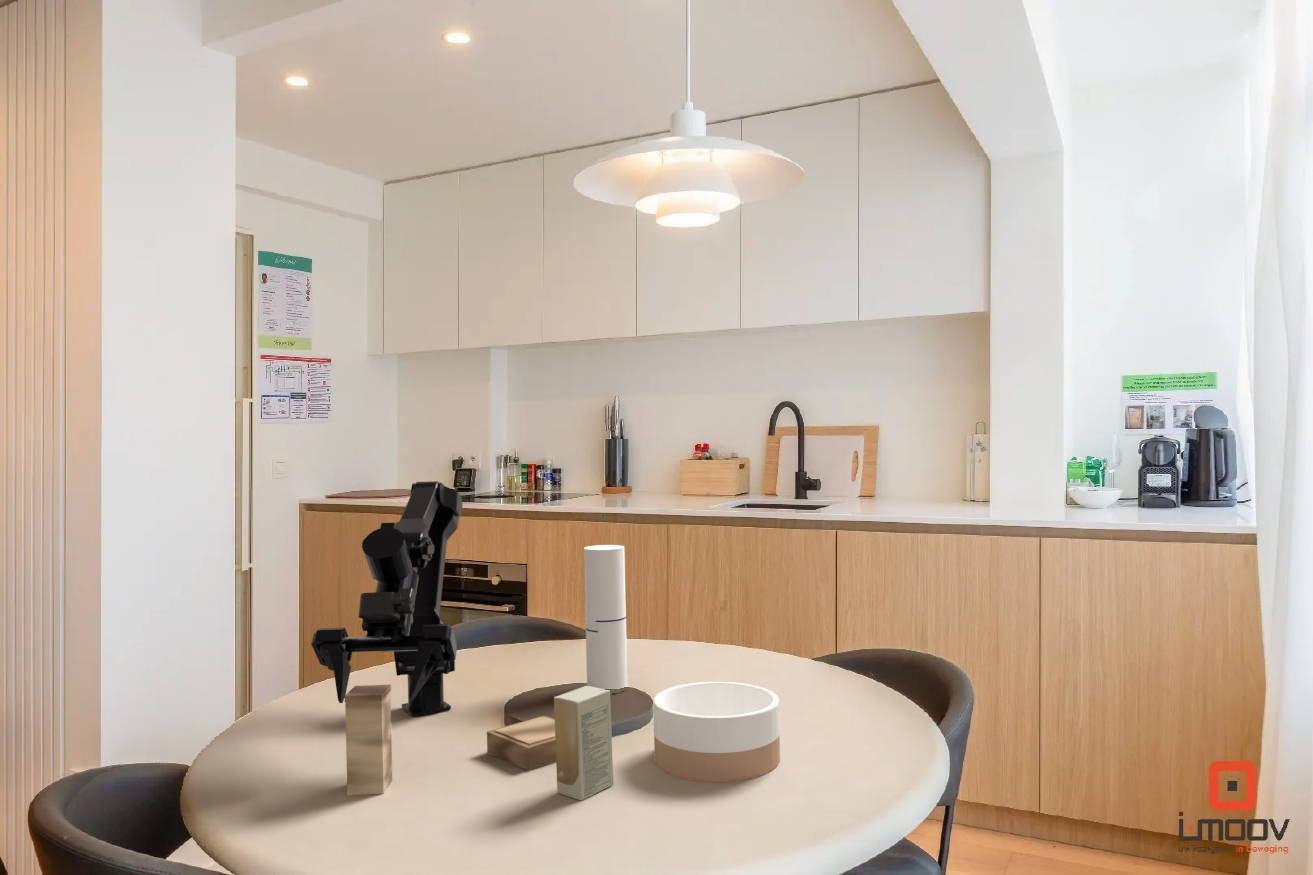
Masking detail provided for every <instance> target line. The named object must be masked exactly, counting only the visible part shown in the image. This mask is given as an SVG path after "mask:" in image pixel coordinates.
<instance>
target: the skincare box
mask: <svg viewBox="0 0 1313 875" xmlns="http://www.w3.org/2000/svg"><path fill="white" fill-rule="evenodd" d="M553 706H554V707H553V708H554V709H553V710H554V719H555V741H556V762H555V763H556V764H555V765H556V767H555V768H556V791H557V794H561V795H562V796H566V797H569V798H572V799H576V800H578V801H583V800H585V799H587V798H589V797H591V796H593V795H596V794H597V793H599V792H601V791H603V790H605V789H606V788H609V787H610V786H613V785H614V765H613V764H614V763H613V762H614V761H613V742H612V741H613V740H612V712H611V710H612V709H611V706H612V705H611V694H610V690H605V689H601V688H596V687H591V686H587V685H584V686H581V687H578V688H576V689H572V690H570V691H567V692H564V693H562V694H559V695H557V696H553Z"/></svg>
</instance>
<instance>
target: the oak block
mask: <svg viewBox="0 0 1313 875" xmlns="http://www.w3.org/2000/svg"><path fill="white" fill-rule="evenodd" d="M391 692H392V684H369V685H366V684H365V685H354V686H353V687H352V688H351V689H350V690H349V691H348V692H346V695H345V698H344V704H345V706H344V707H345V710H344V711H345V746H346V748H345V750H346V752H345V753H346V754H345V756H346V796H359V795H360V796H361V795H362V796H363V795H383V794H385V792H386V791H387V789H388V788H389V787H390V785H391V783H392V781H393V753H392V752H393V750H392V749H393V748H392V744H393V742H392V706H391V705H392V702H391V698H392V697H391Z"/></svg>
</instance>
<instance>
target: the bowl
mask: <svg viewBox="0 0 1313 875" xmlns="http://www.w3.org/2000/svg"><path fill="white" fill-rule="evenodd" d="M652 705H653V706H652V708H653V709H652V710H653V714H652V715H653V739H654V740H653V741H654V743H653V744H654V761H655V765H656V766H657V767H658V768H659V769H660V770H662V771H663V772H664V773H667V774H669V775H671V776H674V777H677V778H680V779H684V780H689V781H694V782H705V783H727V782H728V783H730V782H732V783H733V782H738V781H746V780H751V779H755V778H758V777H762V776H765V775H767V774H768V773H769V774H770V773H771V772H772V771H774V770H775V769H776V768H777V767H778V766H779V764H780V762H781V748H780V746H781V744H780V743H781V742H780V739H781V738H780V735H781V730H780V699H779V696H778V695H777V694H775V693H774V692H773V691H771V690H769V689H767V688H764V687H761V686H757V685H754V684H749V683H741V682H731V681H701V682H693V683H686V684H679V685H675V686H672V687H669V688H666V689H664V690H661V691H660V692H658V693H657V694H656V695H655V696H654V699H653V700H652Z"/></svg>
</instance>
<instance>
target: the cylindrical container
mask: <svg viewBox="0 0 1313 875" xmlns="http://www.w3.org/2000/svg"><path fill="white" fill-rule="evenodd" d="M583 556H584V557H583V559H584V560H583V562H584V567H583V568H584V600H585V601H584V603H585V606H584V608H585V609H584V610H585V615H584V616H585V647H586V649H585V652H586V653H585V656H586V686H587V685H588V686H591V687H596V688H601V689H620V688H624V687H628V688H629V686H628V654H627V653H628V650H627V649H628V648H627V647H628V646H627V645H628V644H627V641H628V640H627V617H626V616H627V607H626V605H627V603H626V602H627V600H626V599H627V598H626V565H625V564H626V558H625V557H626V556H625V546H624V545H619V544H618V545H617V544H599V545H588V546H585V547H584V548H583Z"/></svg>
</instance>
